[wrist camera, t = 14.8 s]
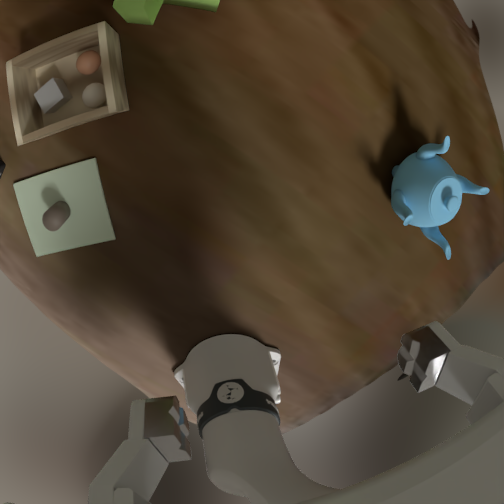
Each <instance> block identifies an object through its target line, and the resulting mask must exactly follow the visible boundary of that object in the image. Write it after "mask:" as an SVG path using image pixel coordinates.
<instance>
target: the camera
mask: <svg viewBox="0 0 504 504" xmlns="http://www.w3.org/2000/svg"><path fill="white" fill-rule="evenodd" d="M4 168H5V163H4V162H3V161H1V160H0V178H1V175H2V173H3V171H4Z"/></svg>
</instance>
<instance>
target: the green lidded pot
mask: <svg viewBox="0 0 504 504" xmlns="http://www.w3.org/2000/svg"><path fill="white" fill-rule="evenodd" d="M219 2H220V0H114V3H113V6H112V7H113V8H114V9H115V10H116V11H117V12H118V13H119V14H120V15H121V16H122V17H123V19H124V20H125V21H126V22H127V23H136V24H147V25H153V23H154V21H155V19H156V16H157V14H158V12H159V10H160V7H161V5H162V4H170V5H178V6H184V7H191V8H196V9H202V10H207V11H212V12H216V11H217V8H218V5H219Z"/></svg>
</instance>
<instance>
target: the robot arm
mask: <svg viewBox="0 0 504 504" xmlns="http://www.w3.org/2000/svg"><path fill="white" fill-rule="evenodd" d="M401 343H402V344H403V345H402V347H401V348H400V349H399V351H398V356H397V357H398V363H399V366H400V368H401V370H402V371H403V373H405V374H408V375H410V382H411V384H412V385H413V387H414V388H415V389H416V391H417V392H418V393H419V392H421V391H424V390H425V389H428V388H430V387H432V386H434V385H436V386H437V387H438V388H440V389H442V390H444V391H446V392H448V393H450V394H451V395H453V396H455V397H457V398H459V399H461V400H463V401H465V402H467V403H469V404H470V405H472V406H471V408H470V410H469V411H468V413H467V415H466V418H467V420H468V421H469V422H470V424H471V425H470V426H468V427H467V428H466V429H464V430H462V431H461V432H459V433H457V434H456V435H454V436H453V437H451V438H449V439H448V440H446V441H444V442H442V443H441V444H439V445H437V446H436V447H434V448H432V449H430V450H428V451H427V452H425V453H423V454H421V455H419V456H417V457H415V458H413V459H411V460H409V461H407V462H405V463H403V464H401V465H399V466H397V467H395V468H393V469H390V470H388V471H386V472H384V473H381V474H379V475H377V476H374V477H372V478H370V479H367V480H365V481H362V482H359V483H357V484H354V485H352V486H349V487H346V488H343V489H338V488H332V487H327V486H325V485H322V484H319V483H317V482H315V481H313V480H312V479H310V478H308V477H307V476H306V475H305V474H304V473H302V472H301V471H300V469H299V468H298V467H297V466H296V465H295V463H294V462H293V460H292V458H291V456H290V453H289V451H288V449H287V447H286V444H285V442H284V439H283V436H282V433H281V430H280V427H279V425H280V418H279V411H278V408H277V406H276V404H278V403H280V393H281V391H280V385H279V382H278V378H277V374H278V369H279V364H280V359H281V354H280V351H279V350H278V349H275V348H271V347H266V346H264V345H263V344H261V343H260V342H258V341H257V340H255V339H253V338H251V337H248V336H244V335H238V334H225V335H219V336H215V337H211V338H209V339H206V340H204V341H202V342H201V343H199V344H198V345H196V346H195V347H194V348H193V349H192V350H191V351H190V353H189V354H188V356H187V358H186V360H185V362H184V363H183V364H181V365H180V366H179V367H177V368H176V369H175V371H174V375H175V378H176V379H177V381H178V382H179V383H180V384H181V386H182V387H183V388H184V389H185V397H186V404H187V407H188V408H190V409H191V410H192V412H194V413H195V414H196V415H197V426H198V430H199V434H200V437H201V438H202V439H203V444H204V452H205V460H206V467H207V474H208V476H209V478H210V480H211V481H212V482H213V483H214V484H215V485H216V486H217V487H218V488H219V489H221V490H222V491H224V492H227V493H231V494H234V495H238V496H244V497H247V498H248V499H249V501H250V503H251V504H504V358H501V357H498V356H495V355H492V354H489V353H486V352H484V351H481V350H478V349H475V348H472V347H469V346H466V345H462V346H461V345H460V344H459V343H458V342H457V341H456V340H455V339H454V338H453V337H452V336H451V335H450V333H449V332H448V331H447V330H446V329H445V328H444V327H443V326H442V325H441V324H440V323H439V322H437V321H435V322H432V323H430V324H427V325H425V326H422V327H420V328H417V329H415V330H413V331H410V332H408V333H405V334H404V335H403V336H402V338H401ZM188 434H189V424H188V420H187V416H186V414H185V411H184V410H183V408H180V407H179V400H178V399H177V397H176V396H169V397H160V398H151V399H141V400H133V402H132V404H131V410H130V422H129V435H128V440H124V441H123V443H122V444H121V445H120V446H119V448H118V449H117V450H116V452H115V453H114V454H113V456H112V457H111V458H110V459H109V461H108V462H107V463H106V465H105V466H104V467H103V469H102V470H101V471H100V472H99V474H98V475H97V476H96V478H95V479H94V480H93V481H92V483H91V484H90V485H89V496H88V504H151V503H149V499H150V498H151V496H152V494H153V492H154V490H155V489H156V487H157V485H158V483H159V481H160V479H161V477H162V475H163V473H164V472H165V470H166V468H167V466H168V464H169V463H168V462H177V461H183V460H191V459H192V457H191V445H190V442H189V441H188V439H187V436H188ZM4 504H13V503H4Z"/></svg>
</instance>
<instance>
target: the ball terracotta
mask: <svg viewBox="0 0 504 504" xmlns="http://www.w3.org/2000/svg"><path fill="white" fill-rule="evenodd" d="M100 65H101V56H100V55H99V53H98V52H96V51H93V50H88V51H85V52H83V53H82V54H81V55H80V56H79V57H78V59H77V61H76V68H77V70H78V71H79V72H80V73H81V74H84V75H90V74H92V73H94V72H96V71H97V70H98V69H99V67H100Z"/></svg>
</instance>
